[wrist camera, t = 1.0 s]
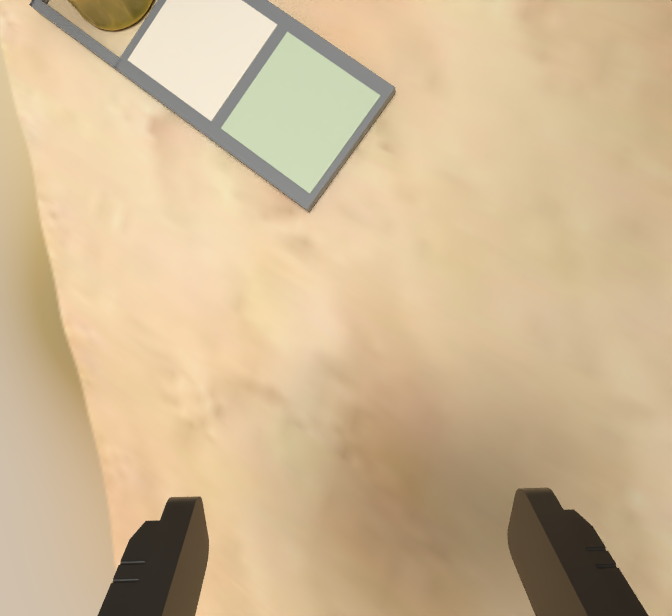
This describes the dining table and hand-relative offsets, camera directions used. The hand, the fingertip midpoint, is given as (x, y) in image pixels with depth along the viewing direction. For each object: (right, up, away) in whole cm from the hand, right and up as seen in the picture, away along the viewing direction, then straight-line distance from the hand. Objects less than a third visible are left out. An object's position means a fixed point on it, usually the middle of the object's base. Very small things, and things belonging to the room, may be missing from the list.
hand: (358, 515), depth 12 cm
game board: (-9, +22, +19) cm, 31 cm away
